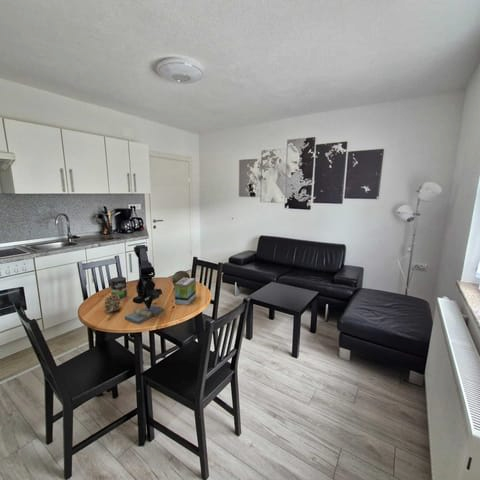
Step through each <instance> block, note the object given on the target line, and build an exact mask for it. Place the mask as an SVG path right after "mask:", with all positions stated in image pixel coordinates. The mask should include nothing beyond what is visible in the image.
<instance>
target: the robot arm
mask: <svg viewBox="0 0 480 480" xmlns="http://www.w3.org/2000/svg"><path fill="white" fill-rule="evenodd" d="M148 250H149V249H148V246H147V245H146V244H139V245H137V244H136V245H135V246H134V247H133V252H134V255H135V256H136V257H137V263H138V265H137V266H138V280H137V281H136V287H135V290H136V293H137V296H135V297H133V298H132V303H133V304H138V305H140V304H145V307H147V308H148V309H150V306H151V304H152V303H153V300H156V299H160V295H163V290H162V289H161V288H155V287H156V283H155V282H154V280H153V278H155V275H156V272H155V268H154V266H153V265H152V263H151V262H150V261H149V257H148Z"/></svg>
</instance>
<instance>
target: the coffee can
mask: <svg viewBox="0 0 480 480" xmlns="http://www.w3.org/2000/svg"><path fill="white" fill-rule="evenodd" d="M109 281H110V292H111V294H110V296H111V295H112V294H113V295H114V294H117V296H118V295H119V297H120V298H119V299H121V300H120V301H122V300H124V299H127V298H128V290H127V278H126V277H125V276H117V277H112V278H111V279H110V280H109Z"/></svg>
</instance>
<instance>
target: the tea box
mask: <svg viewBox="0 0 480 480" xmlns="http://www.w3.org/2000/svg"><path fill="white" fill-rule="evenodd" d="M196 279H197V278H195V277H190V278H182V279H181V280H179V281H178V282H177V283H175V286H174V304H175V305H181V306H182V305H185V306H188V305H189V304H190V303H192V302H193V300H194V299H195V298H196V296H197V293H196V292H197V284H196V283H197V281H196Z"/></svg>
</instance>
